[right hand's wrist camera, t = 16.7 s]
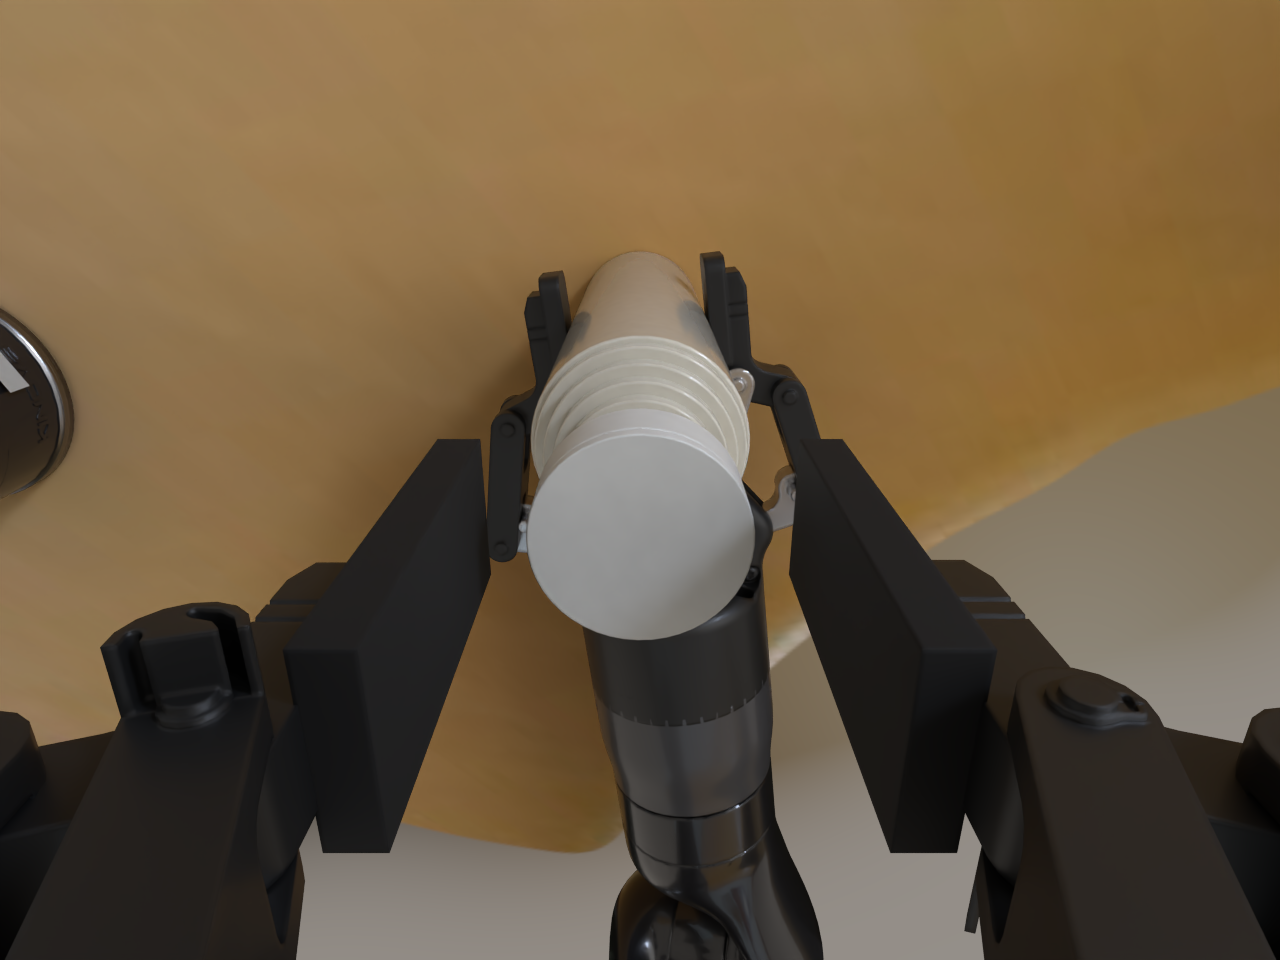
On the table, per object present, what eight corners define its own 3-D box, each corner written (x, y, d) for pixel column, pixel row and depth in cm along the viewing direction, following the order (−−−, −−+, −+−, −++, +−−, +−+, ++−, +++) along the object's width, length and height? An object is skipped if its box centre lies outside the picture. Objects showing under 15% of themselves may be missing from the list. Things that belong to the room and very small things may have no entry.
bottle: (683, 376, 35) (744, 669, 15) (574, 354, 35) (481, 625, 14) (708, 264, 33) (818, 421, 13) (594, 240, 33) (518, 364, 13)
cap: (644, 362, 13) (644, 385, 12) (786, 510, 15) (802, 546, 13) (493, 503, 14) (477, 540, 13) (636, 632, 16) (637, 678, 14)
